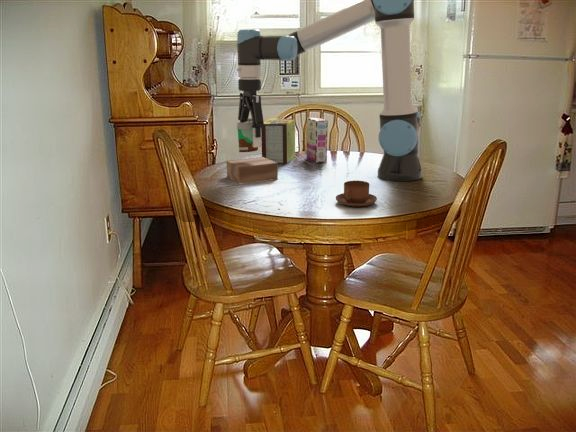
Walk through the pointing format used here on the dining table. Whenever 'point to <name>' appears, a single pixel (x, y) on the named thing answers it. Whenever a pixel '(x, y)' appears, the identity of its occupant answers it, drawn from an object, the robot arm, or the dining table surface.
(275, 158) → the protein box
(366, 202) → the cup and saucer
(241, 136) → the food container
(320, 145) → the candy bar box
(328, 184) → the dining table surface
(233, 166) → the walnut block
